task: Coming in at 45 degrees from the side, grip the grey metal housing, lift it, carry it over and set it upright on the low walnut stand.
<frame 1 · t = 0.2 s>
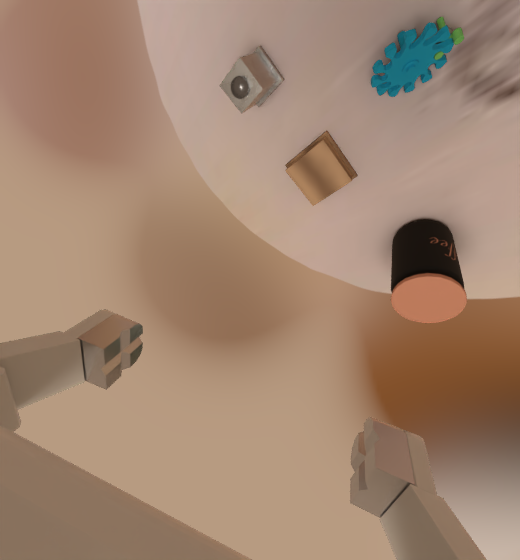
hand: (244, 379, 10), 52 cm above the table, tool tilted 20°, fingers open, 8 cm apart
stand: (320, 169, 55), on the table
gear: (412, 58, 41), on the table
coffee jar: (421, 239, 58), on the table
housing: (260, 77, 49), on the table
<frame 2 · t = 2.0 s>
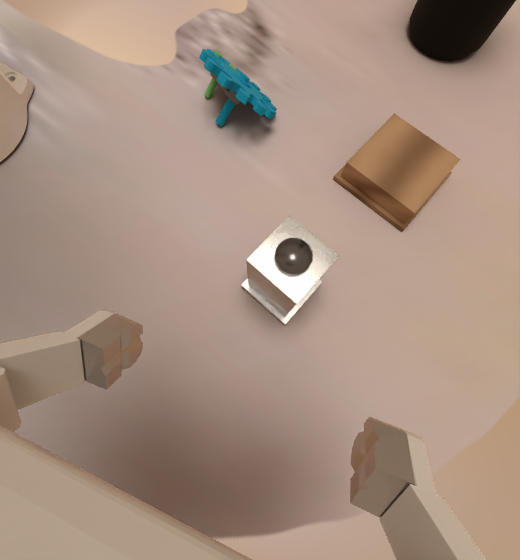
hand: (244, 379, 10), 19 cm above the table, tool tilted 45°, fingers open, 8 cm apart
stand: (391, 177, 34), on the table
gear: (239, 111, 36), on the table
coffee jar: (441, 37, 40), on the table
housing: (281, 285, 30), on the table
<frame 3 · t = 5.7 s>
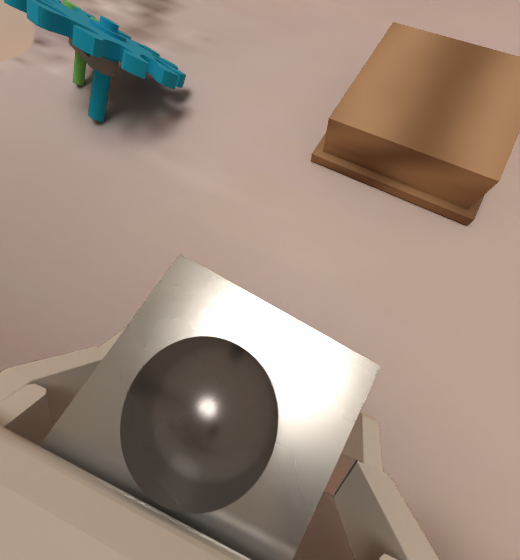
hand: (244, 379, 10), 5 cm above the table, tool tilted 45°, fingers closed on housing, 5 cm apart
stand: (414, 134, 18), on the table
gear: (133, 95, 22), on the table
housing: (251, 391, 14), on the table, touching gripper
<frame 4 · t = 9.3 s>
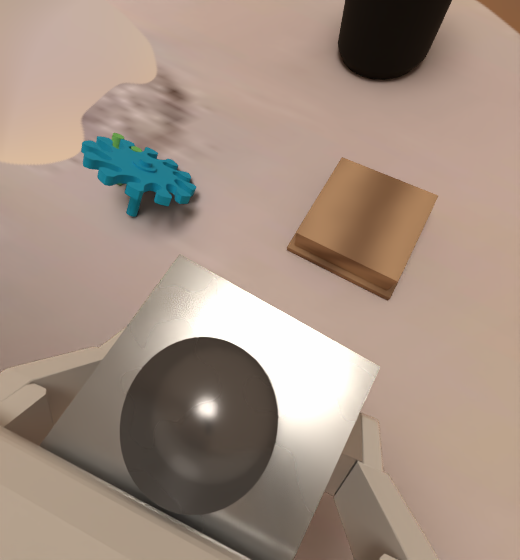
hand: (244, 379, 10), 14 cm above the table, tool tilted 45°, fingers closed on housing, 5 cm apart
stand: (358, 231, 27), on the table
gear: (157, 193, 30), on the table
coffee jar: (379, 54, 35), on the table
housing: (250, 392, 14), point 9 cm above the table, touching gripper
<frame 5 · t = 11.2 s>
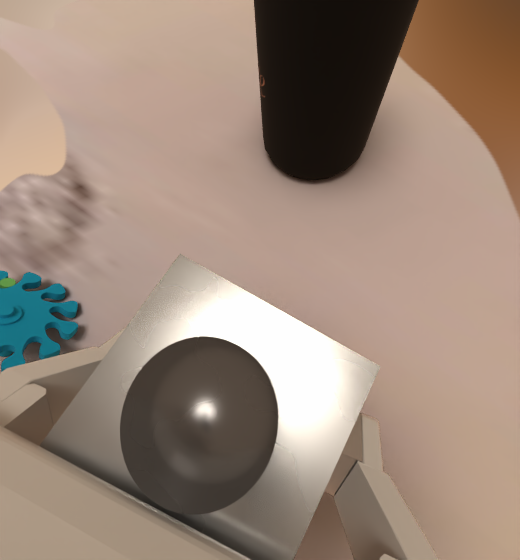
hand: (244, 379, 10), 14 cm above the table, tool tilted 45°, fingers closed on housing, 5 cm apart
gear: (42, 322, 26), on the table
coffee jar: (312, 146, 31), on the table
housing: (251, 391, 14), point 9 cm above the table, touching gripper
when the fingers open (9 cm above the table, at t = 12.9 s): housing stays where it is, resting on stand.
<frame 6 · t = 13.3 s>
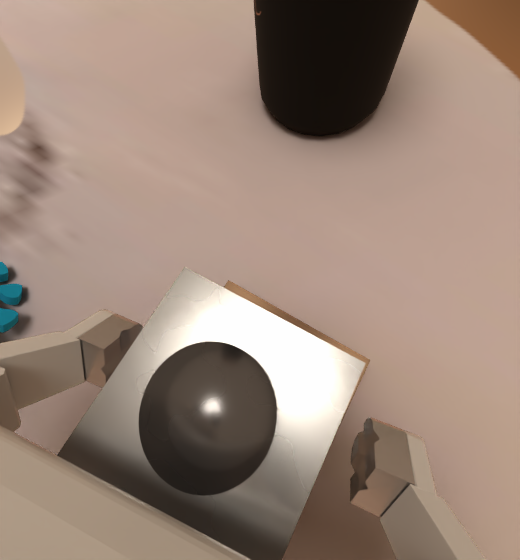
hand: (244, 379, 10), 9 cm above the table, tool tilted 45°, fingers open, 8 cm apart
stand: (257, 389, 17), on the table
coffee jar: (319, 98, 26), on the table
housing: (251, 391, 15), point 3 cm above the table, touching stand
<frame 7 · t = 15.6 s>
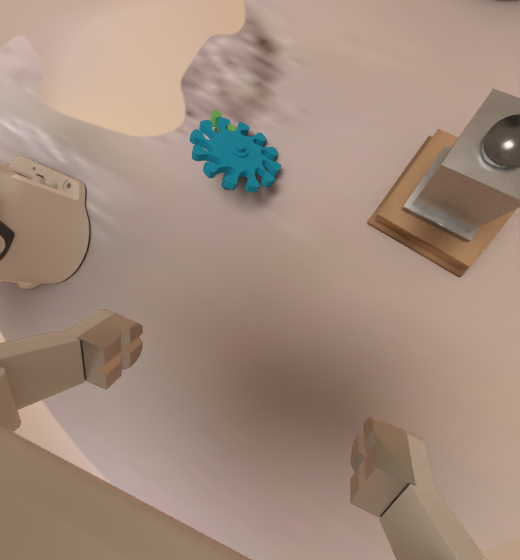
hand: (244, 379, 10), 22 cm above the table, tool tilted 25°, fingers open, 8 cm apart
stand: (442, 206, 28), on the table
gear: (247, 166, 34), on the table
housing: (453, 196, 25), point 3 cm above the table, touching stand
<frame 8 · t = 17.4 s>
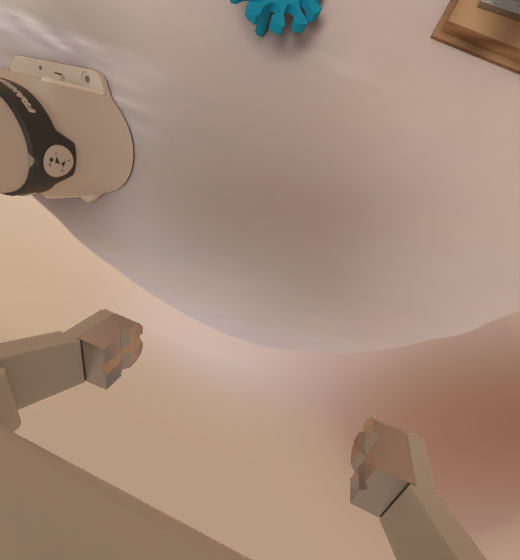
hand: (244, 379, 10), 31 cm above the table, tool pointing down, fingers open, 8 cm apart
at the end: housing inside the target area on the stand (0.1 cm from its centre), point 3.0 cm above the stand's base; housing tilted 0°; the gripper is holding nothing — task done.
